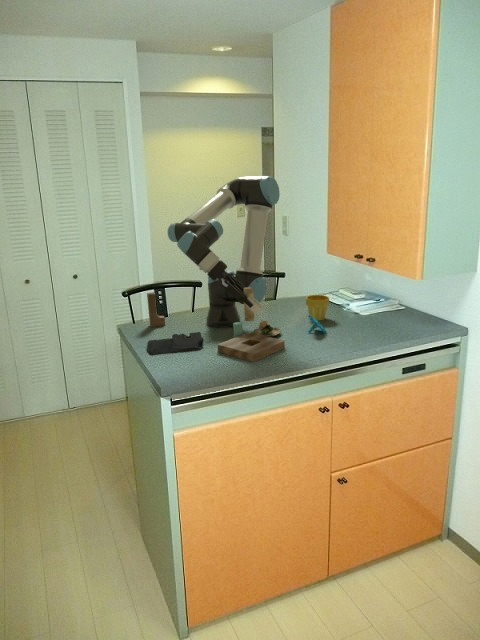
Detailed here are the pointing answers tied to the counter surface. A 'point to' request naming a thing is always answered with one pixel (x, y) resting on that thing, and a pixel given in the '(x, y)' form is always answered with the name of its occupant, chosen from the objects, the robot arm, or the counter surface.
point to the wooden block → (154, 311)
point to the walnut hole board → (251, 346)
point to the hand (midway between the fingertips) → (259, 310)
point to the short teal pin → (238, 329)
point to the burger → (266, 330)
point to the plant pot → (317, 306)
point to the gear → (316, 325)
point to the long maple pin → (248, 313)
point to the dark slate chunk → (176, 344)
